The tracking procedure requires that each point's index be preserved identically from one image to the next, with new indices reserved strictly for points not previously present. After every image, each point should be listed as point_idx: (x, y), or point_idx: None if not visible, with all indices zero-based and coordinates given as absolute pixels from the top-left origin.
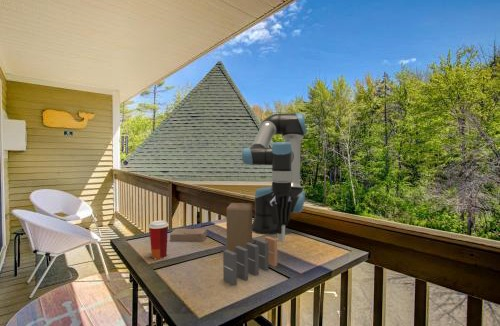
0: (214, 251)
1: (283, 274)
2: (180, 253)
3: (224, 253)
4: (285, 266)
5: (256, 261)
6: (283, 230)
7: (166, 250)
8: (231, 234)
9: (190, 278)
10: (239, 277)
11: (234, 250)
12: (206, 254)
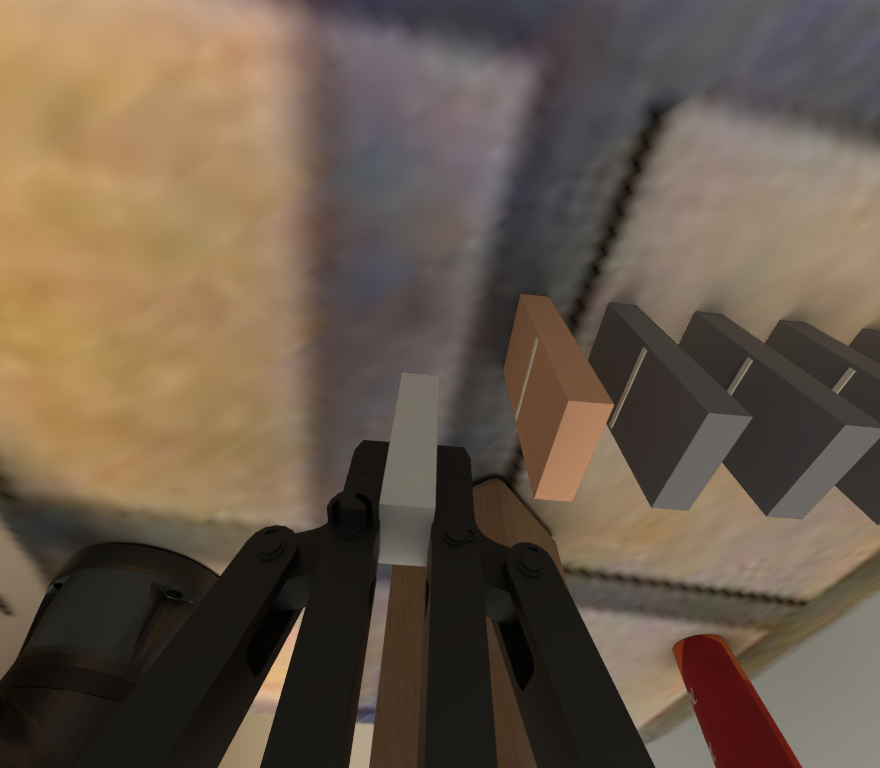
0: None
1: (629, 176)
2: (640, 628)
3: None
4: (500, 241)
5: (771, 355)
6: (421, 454)
7: (698, 662)
8: None
9: None
10: None
11: (544, 537)
12: (598, 581)
